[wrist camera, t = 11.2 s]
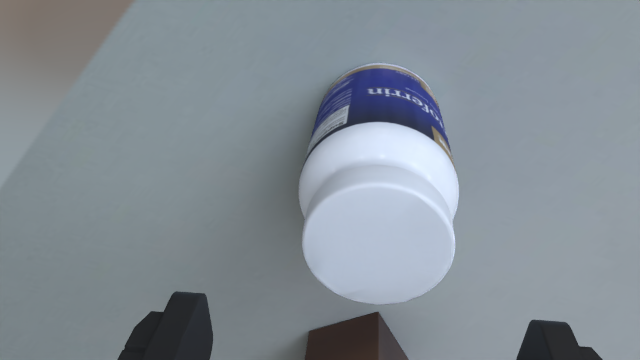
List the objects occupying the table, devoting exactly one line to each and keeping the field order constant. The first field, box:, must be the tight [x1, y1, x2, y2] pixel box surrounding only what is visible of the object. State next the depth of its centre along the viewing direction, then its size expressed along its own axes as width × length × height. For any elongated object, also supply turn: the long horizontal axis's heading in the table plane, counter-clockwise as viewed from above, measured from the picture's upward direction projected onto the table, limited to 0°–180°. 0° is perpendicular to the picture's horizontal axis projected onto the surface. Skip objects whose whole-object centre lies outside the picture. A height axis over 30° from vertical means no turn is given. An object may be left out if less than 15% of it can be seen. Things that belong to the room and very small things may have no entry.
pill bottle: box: [299, 63, 459, 305], centre depth 19 cm, size 6×6×10 cm
